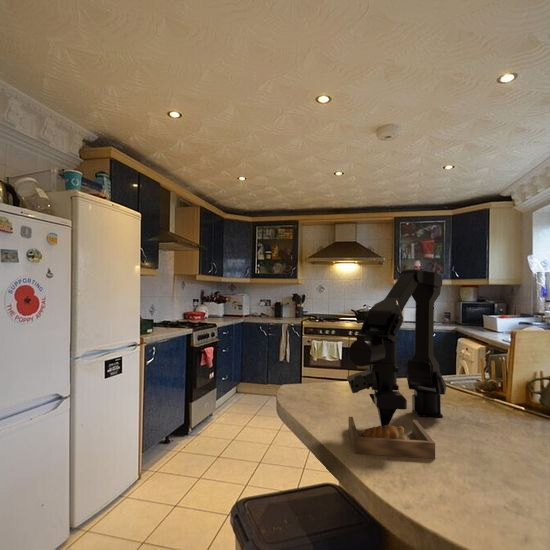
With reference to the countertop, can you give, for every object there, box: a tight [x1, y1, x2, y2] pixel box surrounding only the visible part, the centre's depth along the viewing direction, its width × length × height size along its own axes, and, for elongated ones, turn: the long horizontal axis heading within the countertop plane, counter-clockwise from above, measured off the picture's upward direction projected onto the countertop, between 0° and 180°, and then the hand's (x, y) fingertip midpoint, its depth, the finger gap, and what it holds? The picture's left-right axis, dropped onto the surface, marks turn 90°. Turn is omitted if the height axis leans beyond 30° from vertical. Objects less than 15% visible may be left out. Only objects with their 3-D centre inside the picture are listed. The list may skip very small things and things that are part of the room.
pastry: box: [361, 424, 406, 440], centre depth 80 cm, size 9×7×4 cm
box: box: [348, 416, 436, 459], centre depth 79 cm, size 16×14×3 cm
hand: (384, 428), depth 84 cm, fingers closed
